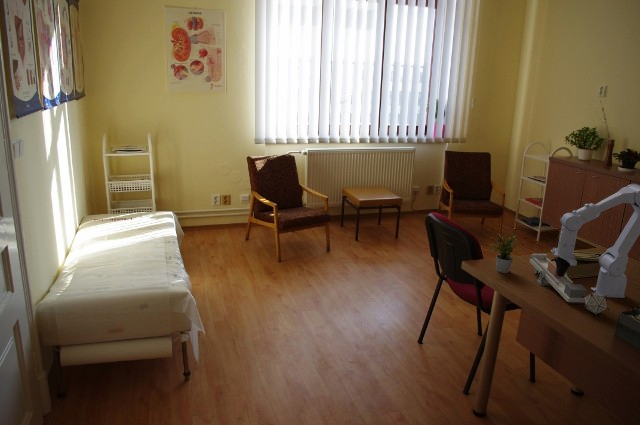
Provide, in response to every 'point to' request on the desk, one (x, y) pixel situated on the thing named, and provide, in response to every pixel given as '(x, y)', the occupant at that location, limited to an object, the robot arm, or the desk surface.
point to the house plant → (504, 254)
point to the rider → (553, 269)
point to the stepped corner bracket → (546, 283)
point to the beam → (559, 280)
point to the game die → (595, 302)
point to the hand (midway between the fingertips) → (560, 275)
